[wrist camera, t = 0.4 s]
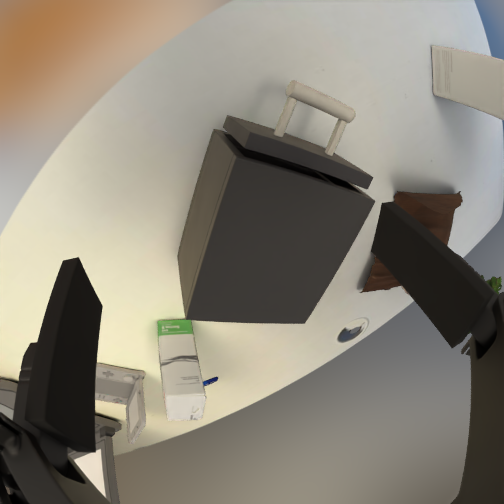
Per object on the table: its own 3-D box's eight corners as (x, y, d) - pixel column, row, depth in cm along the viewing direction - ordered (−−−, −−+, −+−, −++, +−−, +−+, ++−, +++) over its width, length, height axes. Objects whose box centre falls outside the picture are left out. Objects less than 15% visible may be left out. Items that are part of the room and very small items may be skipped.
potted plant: (349, 287, 48) (427, 388, 24) (361, 177, 41) (484, 223, 17) (433, 277, 49) (514, 347, 26) (449, 185, 42) (556, 226, 19)
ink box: (156, 318, 36) (163, 396, 27) (192, 317, 38) (207, 393, 29) (159, 355, 41) (167, 423, 32) (190, 353, 43) (203, 420, 33)
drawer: (244, 68, 21) (275, 66, 15) (345, 111, 26) (395, 129, 20) (188, 240, 30) (197, 290, 24) (282, 254, 34) (308, 298, 28)
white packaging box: (431, 95, 27) (510, 124, 18) (430, 43, 23) (512, 60, 13) (460, 97, 28) (529, 126, 18) (460, 52, 24) (532, 72, 14)
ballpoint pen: (215, 375, 49) (217, 379, 48) (218, 376, 49) (219, 381, 49) (170, 393, 49) (171, 397, 48) (173, 394, 50) (174, 398, 49)
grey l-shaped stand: (93, 361, 38) (91, 416, 30) (145, 371, 43) (150, 424, 35) (88, 394, 43) (87, 439, 36) (131, 401, 48) (135, 446, 40)
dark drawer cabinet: (213, 128, 25) (236, 157, 17) (323, 163, 30) (375, 201, 22) (177, 256, 32) (185, 320, 24) (275, 268, 37) (304, 323, 29)
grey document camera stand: (-2, 369, 34) (-12, 517, 9) (122, 419, 52) (142, 543, 28) (-14, 413, 42) (-17, 505, 18) (71, 447, 60) (80, 532, 36)
